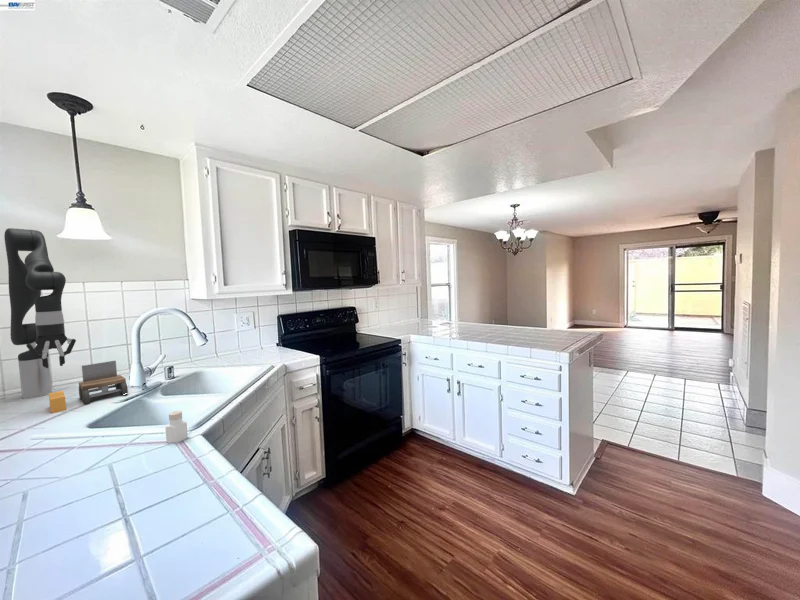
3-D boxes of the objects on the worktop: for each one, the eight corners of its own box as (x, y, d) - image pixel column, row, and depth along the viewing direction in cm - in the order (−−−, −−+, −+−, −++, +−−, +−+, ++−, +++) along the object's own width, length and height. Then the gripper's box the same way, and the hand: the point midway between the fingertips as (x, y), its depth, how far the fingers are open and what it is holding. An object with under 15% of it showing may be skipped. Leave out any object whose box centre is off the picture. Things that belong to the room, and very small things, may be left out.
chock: (51, 415, 123) (49, 399, 123) (50, 408, 131) (48, 393, 131) (66, 411, 126) (65, 396, 126) (64, 405, 134) (63, 390, 134)
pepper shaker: (177, 448, 93) (175, 415, 93) (165, 447, 94) (163, 415, 94) (189, 441, 97) (186, 410, 97) (177, 440, 98) (175, 409, 98)
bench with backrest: (79, 398, 141) (76, 365, 141) (120, 390, 152) (117, 359, 151) (85, 406, 131) (81, 370, 131) (128, 396, 142) (125, 363, 141)
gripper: (74, 320, 135) (77, 361, 136) (22, 324, 124) (26, 369, 125) (76, 321, 130) (80, 364, 131) (22, 325, 119) (27, 372, 120)
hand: (54, 366), depth 128 cm, fingers open, 3 cm apart
